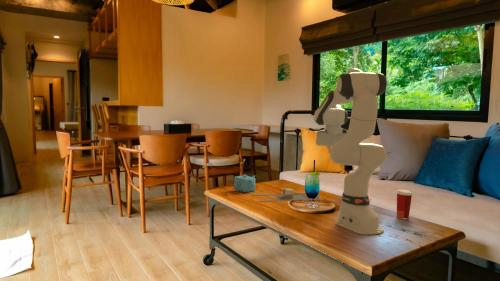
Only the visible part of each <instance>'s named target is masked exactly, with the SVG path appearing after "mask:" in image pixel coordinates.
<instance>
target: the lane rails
mask: <svg viewBox="0 0 500 281" xmlns="http://www.w3.org/2000/svg"><path fill="white" fill-rule="evenodd" d="M305 193H306V192H303V193H301V192H300V193H294V194H293V195H300V194H305ZM274 195H283V193H274V194H273V193H272V194H271V193H270V194H269V196H274ZM249 196H250V197H263V196H264V197H265V196H268V194H250V195H249ZM319 200H320V201H321V198H320V197H319V198H316V199H315V201H316V202H317V201H319ZM283 201H285V202H287V201H290V202H291V201H305V202H310V201H309V199H292V200H280V199H273V200H272V199H270V200H257V201H256V202H257V203H263V202H264V203H265V202H267V203H268V202H283ZM315 201H314V202H315Z"/></svg>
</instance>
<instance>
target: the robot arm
mask: <svg viewBox="0 0 500 281" xmlns="http://www.w3.org/2000/svg"><path fill="white" fill-rule="evenodd" d="M387 86H388V80H387V77H386V75H385V74H384V73H381V72H369V71H367V72H366V71H363V70H361V69H359V68H354V67H353V68H350V69H348V70H347V71H346V72H343V73H340V74H339V76H338V77H337V81H336V87H335V88H333V89H332V90H331V91H329V92H328V93H327V94H326V96H325V97H324V99H323V101H322V102H321V103H320V105H319V106H318V107H317V108H316V109H315V111H314V115H313V119H314V122H315V124H317V125H318V126H324V127H325V128H324V129H319V130H317V132H316V138H315V145H316V146H320V147H321V146H324V147H325V146H326V148H327V150H328V154H329V156H330V159H331V160H332V162H333V163H335V164H337V165H341V166H342V165H343V166H355V167H357V169H356V170H355V171H352V172H350V173H348V174H346V176H345V177H344V180H343V192H342V195H341V201H342V202H341V204H340V207H339V211H338V217H337V220H336V222H335V224H336V225H337V226H340V227H342V228H344V229H346V230H349V231H351V232H354V233H355V234H358V235H378V234H383V233H385V230H384V228H382V227H381V226H379V223H380V222H379V217H378V214H377V213H376V212H375V211H374V210H373V208H372V207H371V204H370V203H371V202H372V201H371V200H372V199H370V196H369V194H368V193H369V185H370V184H369V183H370V179H371V177H372V175H373V173H374V172H375V171H376V170H377V169H379V167H381V166H382V165H383V164H385V163H386V160H387V150H386V149H385V146H383V145H380V144H377V143H371V142H369V143H368V142H363V141H365V140H367V139H369V138H371V137H372V136H373V134H374V133H375V130H376V124H377V118H378V111H379V110H378V109H379V108H378V106H379V99H378V96H380V95H383V94H384V93H385V92H386V90H387ZM351 103H352V107H351V115H350V119H349V118H348V117H349V113H348V111H347V110H346V109H345V108H343V107H342V105H346V104H351ZM348 119H349V125H348V129H346V128H343V127H342V126H344V125H345V124H347V122H348Z"/></svg>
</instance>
